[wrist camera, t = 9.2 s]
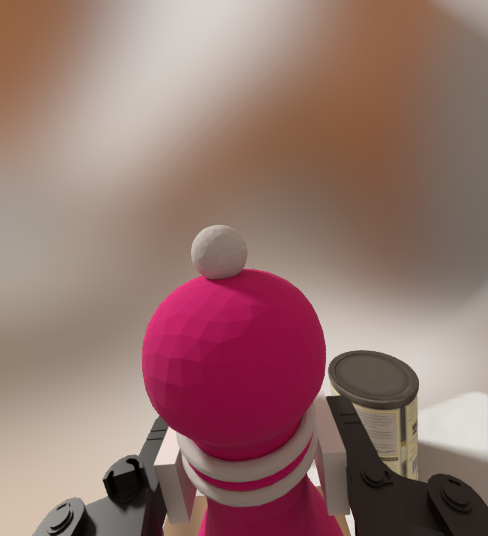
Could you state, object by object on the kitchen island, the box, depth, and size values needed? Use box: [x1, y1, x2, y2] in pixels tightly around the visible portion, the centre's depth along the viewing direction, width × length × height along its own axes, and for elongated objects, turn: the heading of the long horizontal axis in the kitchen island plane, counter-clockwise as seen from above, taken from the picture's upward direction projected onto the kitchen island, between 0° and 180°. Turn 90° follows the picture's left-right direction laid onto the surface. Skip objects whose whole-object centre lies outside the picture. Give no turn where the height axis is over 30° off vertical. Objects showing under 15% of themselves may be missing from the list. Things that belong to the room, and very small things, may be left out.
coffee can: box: [328, 350, 419, 481], centre depth 33 cm, size 10×10×14 cm
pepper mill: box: [142, 225, 344, 536], centre depth 10 cm, size 7×7×20 cm
